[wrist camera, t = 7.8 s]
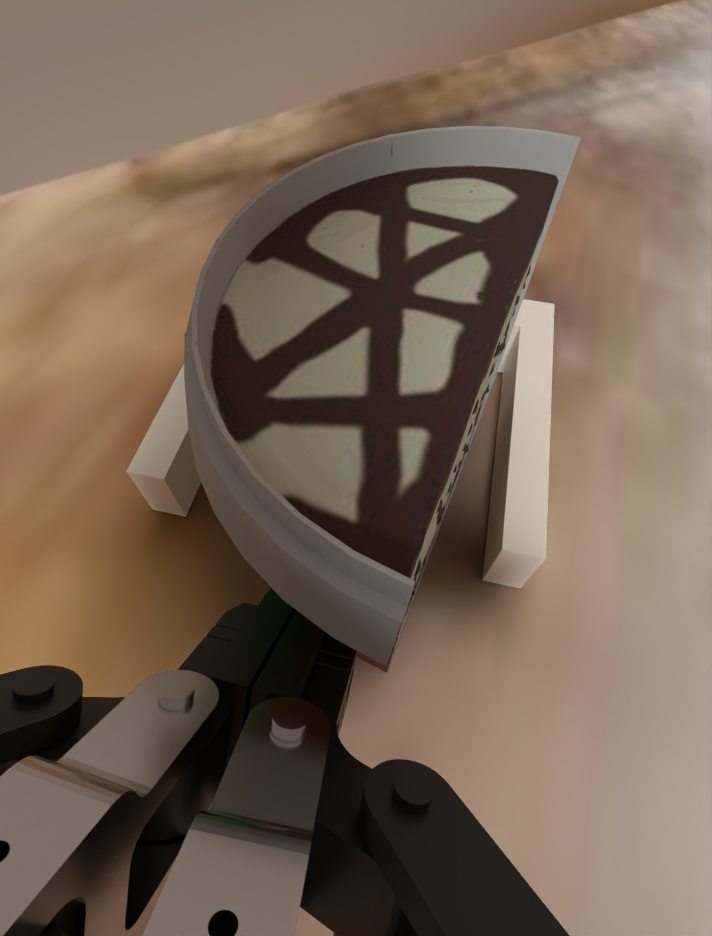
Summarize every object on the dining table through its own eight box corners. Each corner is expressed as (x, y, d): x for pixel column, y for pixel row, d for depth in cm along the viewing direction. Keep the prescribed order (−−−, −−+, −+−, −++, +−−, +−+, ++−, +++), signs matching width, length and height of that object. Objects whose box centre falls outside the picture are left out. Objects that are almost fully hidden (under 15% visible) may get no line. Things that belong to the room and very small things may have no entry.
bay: (152, 509, 18) (126, 471, 16) (251, 304, 23) (242, 254, 21) (520, 588, 17) (545, 558, 14) (534, 351, 22) (554, 303, 20)
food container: (342, 356, 22) (338, 74, 13) (486, 403, 20) (585, 125, 12) (176, 636, 16) (-28, 449, 7) (367, 725, 14) (398, 628, 6)
